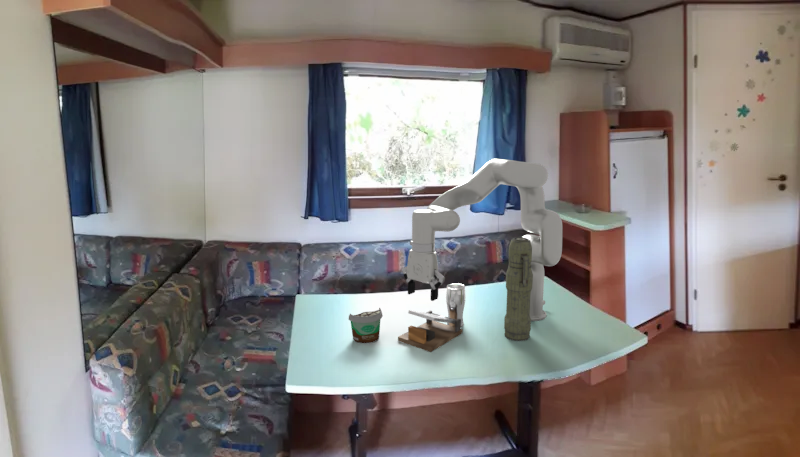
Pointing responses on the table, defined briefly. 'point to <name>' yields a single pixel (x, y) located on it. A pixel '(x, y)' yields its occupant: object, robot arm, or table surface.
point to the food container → (366, 326)
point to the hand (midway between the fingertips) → (422, 296)
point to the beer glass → (455, 302)
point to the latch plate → (439, 336)
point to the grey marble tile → (433, 317)
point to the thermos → (518, 290)
